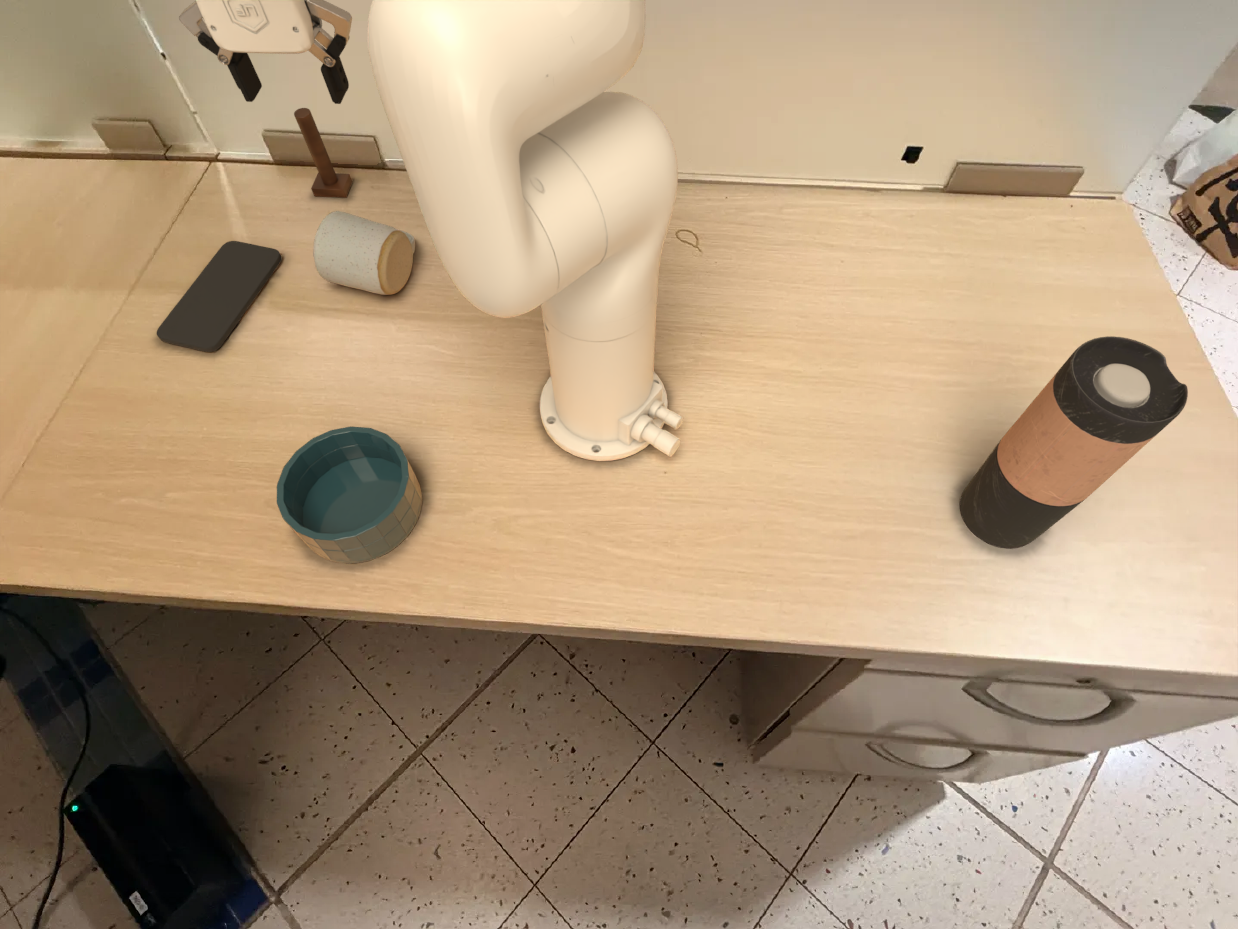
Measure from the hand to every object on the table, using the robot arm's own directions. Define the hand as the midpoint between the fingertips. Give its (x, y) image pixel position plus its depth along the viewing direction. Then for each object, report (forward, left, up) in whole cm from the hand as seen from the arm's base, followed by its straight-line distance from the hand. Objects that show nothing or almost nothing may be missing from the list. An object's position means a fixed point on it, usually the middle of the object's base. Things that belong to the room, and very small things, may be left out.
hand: (297, 95), depth 79 cm
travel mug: (-82, -6, -13) cm, 83 cm away
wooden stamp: (+1, 0, -12) cm, 12 cm away
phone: (-3, +19, -12) cm, 23 cm away
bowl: (-35, +29, -12) cm, 47 cm away
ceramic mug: (-14, +6, -13) cm, 20 cm away
